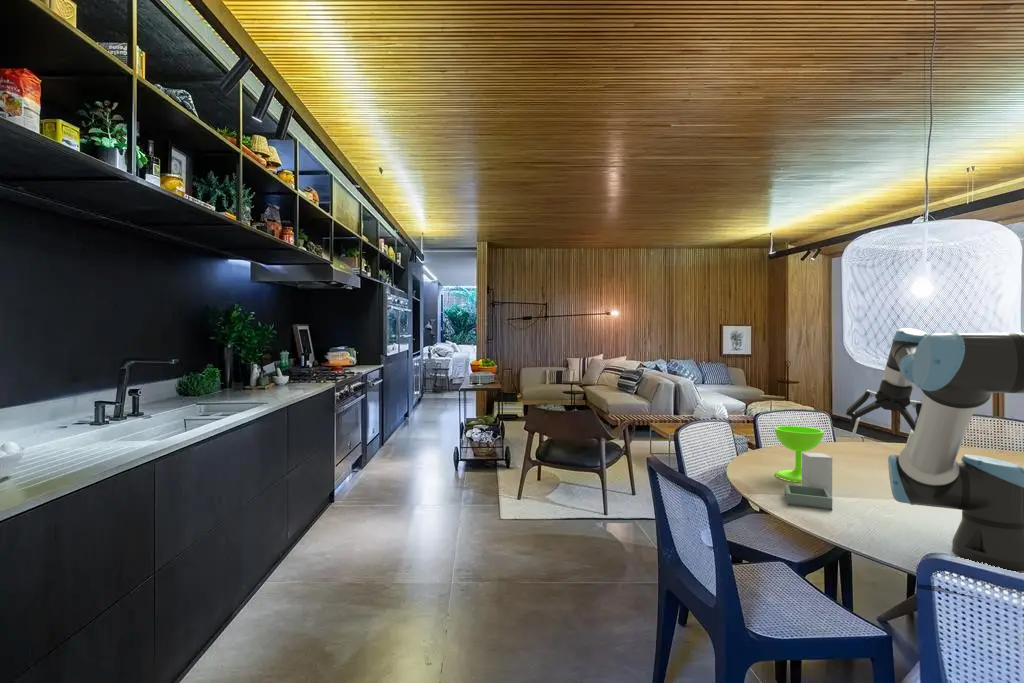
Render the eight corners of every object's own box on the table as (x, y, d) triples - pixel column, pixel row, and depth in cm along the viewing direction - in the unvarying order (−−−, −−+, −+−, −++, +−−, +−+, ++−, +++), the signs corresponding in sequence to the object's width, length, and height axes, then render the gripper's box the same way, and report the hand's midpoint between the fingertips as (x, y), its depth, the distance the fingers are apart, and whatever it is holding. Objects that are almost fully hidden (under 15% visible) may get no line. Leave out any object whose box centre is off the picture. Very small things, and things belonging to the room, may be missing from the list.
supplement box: (832, 495, 174) (833, 457, 174) (808, 494, 176) (808, 456, 176) (824, 489, 182) (824, 452, 181) (801, 488, 183) (801, 451, 183)
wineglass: (829, 478, 196) (829, 429, 196) (814, 486, 185) (815, 435, 185) (783, 470, 208) (784, 424, 208) (767, 477, 197) (767, 429, 197)
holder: (832, 510, 160) (832, 498, 160) (787, 505, 164) (787, 493, 164) (826, 499, 171) (826, 488, 171) (784, 494, 175) (785, 484, 175)
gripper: (951, 387, 148) (929, 450, 156) (848, 366, 161) (833, 425, 170) (953, 397, 143) (930, 463, 151) (846, 375, 156) (830, 436, 164)
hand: (879, 443), depth 160 cm, fingers open, 13 cm apart
